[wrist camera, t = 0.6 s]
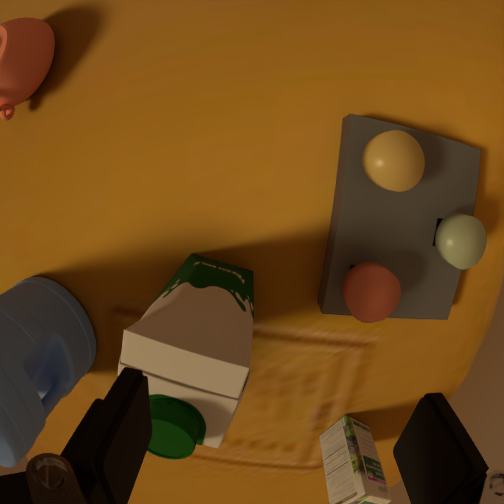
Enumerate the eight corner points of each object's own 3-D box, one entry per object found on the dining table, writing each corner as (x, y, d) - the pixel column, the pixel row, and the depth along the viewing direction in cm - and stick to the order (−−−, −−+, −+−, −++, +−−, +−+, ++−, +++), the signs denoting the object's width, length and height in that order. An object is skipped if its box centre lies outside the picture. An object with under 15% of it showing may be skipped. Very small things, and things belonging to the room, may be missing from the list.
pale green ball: (428, 204, 29) (452, 212, 25) (464, 212, 29) (490, 220, 25) (419, 252, 31) (441, 267, 26) (455, 257, 31) (479, 271, 26)
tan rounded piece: (356, 130, 28) (373, 124, 23) (404, 140, 28) (427, 137, 23) (350, 182, 29) (366, 186, 24) (398, 191, 29) (420, 196, 24)
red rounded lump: (340, 251, 31) (353, 266, 26) (387, 256, 31) (406, 271, 26) (331, 299, 32) (342, 321, 28) (376, 302, 32) (393, 323, 28)
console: (342, 118, 30) (350, 114, 27) (466, 149, 30) (481, 149, 27) (317, 301, 35) (321, 313, 32) (436, 309, 35) (447, 319, 32)
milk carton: (169, 314, 36) (98, 437, 17) (185, 241, 34) (98, 332, 15) (241, 335, 37) (223, 476, 17) (264, 264, 34) (265, 384, 15)
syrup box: (370, 426, 40) (395, 500, 26) (342, 447, 42) (359, 521, 28) (345, 413, 40) (367, 493, 26) (317, 436, 41) (329, 515, 27)
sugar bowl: (73, 16, 27) (28, -12, 17) (53, 117, 30) (-3, 109, 21) (10, 36, 27) (-35, 21, 17) (-7, 126, 31) (-58, 125, 21)
